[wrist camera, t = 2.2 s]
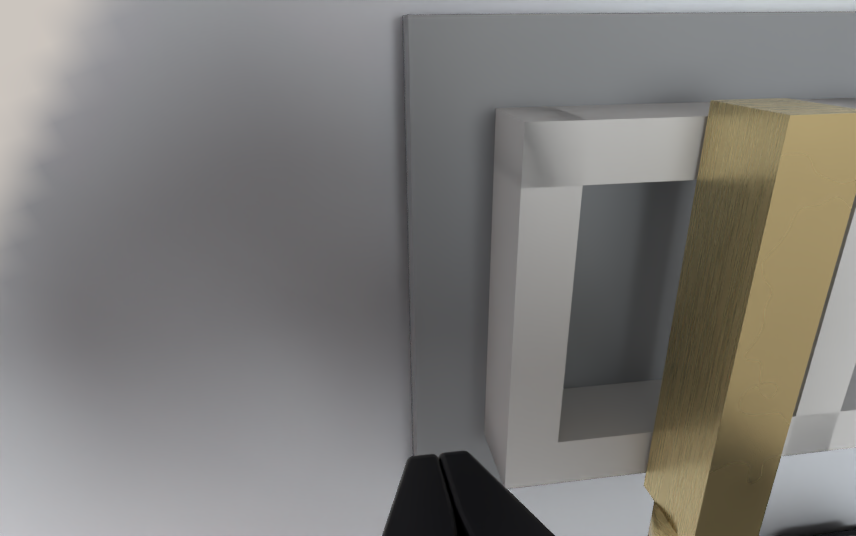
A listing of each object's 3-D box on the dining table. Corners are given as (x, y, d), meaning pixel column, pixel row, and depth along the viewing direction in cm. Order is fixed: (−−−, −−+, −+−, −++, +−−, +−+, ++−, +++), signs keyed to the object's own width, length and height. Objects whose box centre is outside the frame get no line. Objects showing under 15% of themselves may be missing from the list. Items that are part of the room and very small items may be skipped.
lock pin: (698, 514, 15) (750, 584, 13) (631, 523, 14) (675, 595, 13) (792, 98, 11) (887, 111, 9) (703, 100, 10) (781, 116, 9)
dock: (941, 410, 19) (1043, 474, 16) (413, 468, 17) (429, 555, 14) (1101, 10, 14) (1282, 6, 12) (403, 16, 12) (422, 11, 9)
